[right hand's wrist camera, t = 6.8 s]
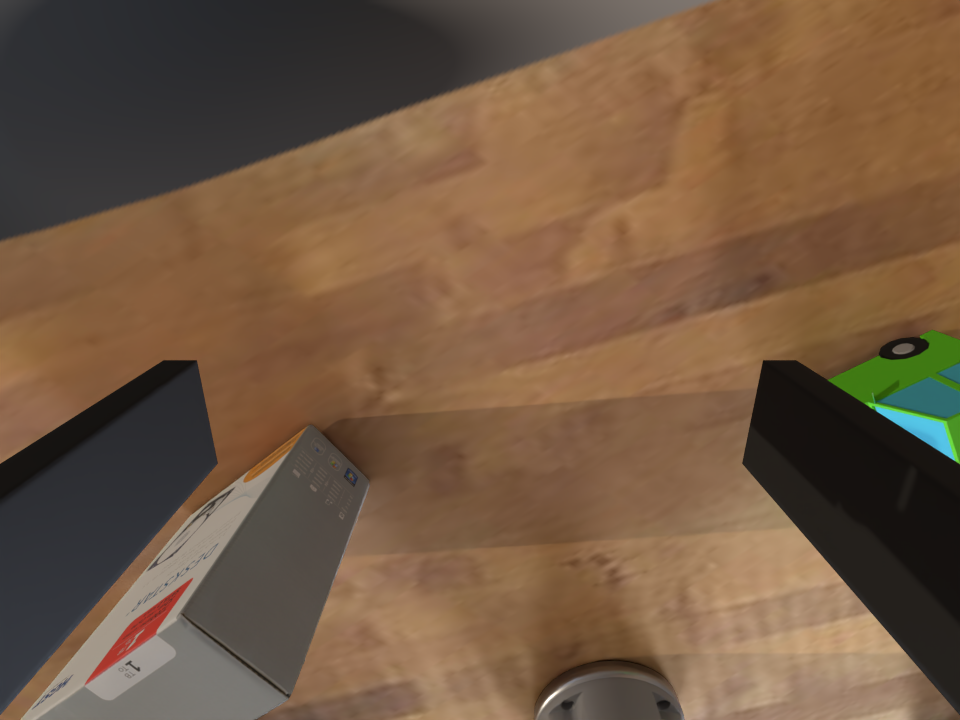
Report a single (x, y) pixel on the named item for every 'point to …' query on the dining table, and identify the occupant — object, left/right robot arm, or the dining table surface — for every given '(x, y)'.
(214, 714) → the hard drive box
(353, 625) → the dining table surface
